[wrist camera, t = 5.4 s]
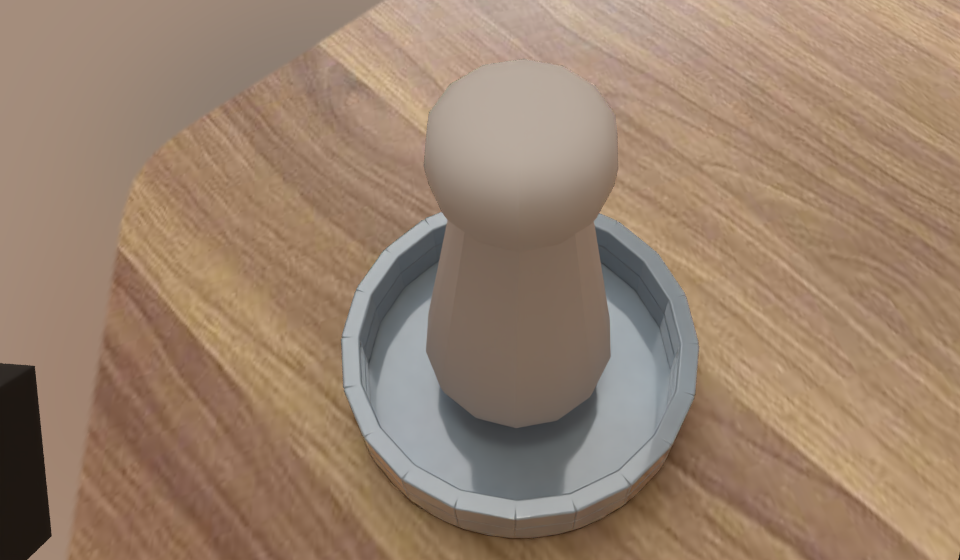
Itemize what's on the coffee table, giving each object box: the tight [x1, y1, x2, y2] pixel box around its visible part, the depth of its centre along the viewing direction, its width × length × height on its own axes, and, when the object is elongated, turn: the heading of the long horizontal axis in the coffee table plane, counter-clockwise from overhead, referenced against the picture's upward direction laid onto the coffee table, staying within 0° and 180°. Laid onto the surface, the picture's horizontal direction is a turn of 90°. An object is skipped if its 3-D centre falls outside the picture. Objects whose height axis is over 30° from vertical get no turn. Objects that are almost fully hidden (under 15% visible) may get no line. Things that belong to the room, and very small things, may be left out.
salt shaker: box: [424, 59, 618, 428], centre depth 24 cm, size 6×6×13 cm
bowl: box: [341, 212, 699, 538], centre depth 29 cm, size 11×11×2 cm
